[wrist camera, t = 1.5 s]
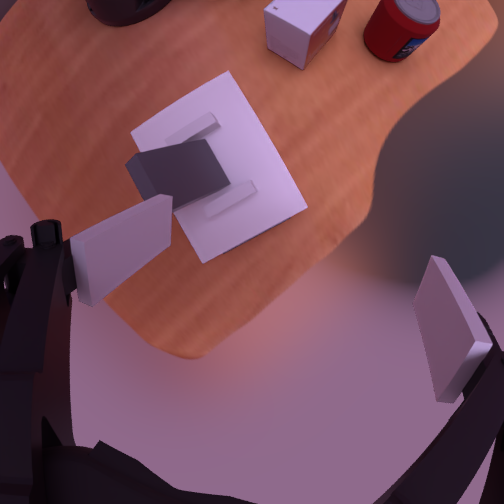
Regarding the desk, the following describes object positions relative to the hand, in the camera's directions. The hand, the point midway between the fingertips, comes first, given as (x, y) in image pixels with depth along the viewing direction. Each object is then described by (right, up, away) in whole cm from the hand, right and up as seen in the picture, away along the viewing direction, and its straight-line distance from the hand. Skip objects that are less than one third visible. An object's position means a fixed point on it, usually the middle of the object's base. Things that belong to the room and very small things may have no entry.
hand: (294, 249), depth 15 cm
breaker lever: (-6, +8, +14) cm, 18 cm away
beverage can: (+16, +28, +18) cm, 36 cm away
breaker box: (-5, +10, +23) cm, 26 cm away
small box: (+4, +27, +19) cm, 33 cm away
